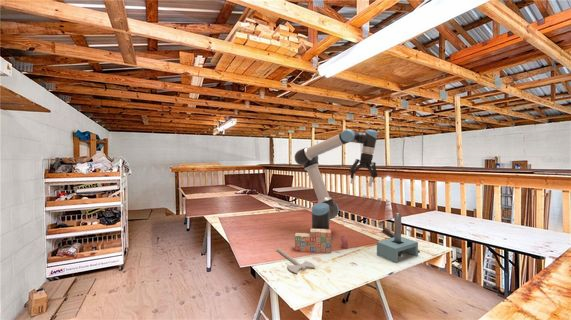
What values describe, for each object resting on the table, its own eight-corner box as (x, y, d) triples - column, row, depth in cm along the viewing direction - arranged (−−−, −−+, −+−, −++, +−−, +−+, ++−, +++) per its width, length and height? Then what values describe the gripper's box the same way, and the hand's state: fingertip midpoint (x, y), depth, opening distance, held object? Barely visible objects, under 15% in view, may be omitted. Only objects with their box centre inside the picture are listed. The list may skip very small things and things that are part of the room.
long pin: (396, 256, 135) (396, 214, 135) (392, 253, 139) (393, 212, 139) (402, 256, 136) (402, 213, 135) (398, 253, 139) (399, 212, 139)
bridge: (395, 262, 127) (395, 248, 127) (376, 254, 138) (376, 241, 137) (417, 255, 137) (418, 242, 137) (398, 248, 148) (398, 235, 147)
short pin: (342, 248, 147) (342, 238, 147) (340, 246, 150) (340, 236, 150) (348, 248, 147) (348, 237, 147) (346, 246, 151) (346, 236, 150)
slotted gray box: (419, 258, 141) (420, 250, 141) (416, 258, 141) (416, 250, 141) (383, 231, 180) (384, 225, 180) (380, 232, 180) (381, 225, 180)
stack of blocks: (294, 251, 143) (294, 230, 143) (295, 247, 149) (295, 227, 149) (331, 253, 140) (331, 232, 140) (330, 249, 146) (330, 229, 146)
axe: (267, 253, 140) (267, 249, 140) (288, 249, 147) (288, 245, 147) (294, 276, 114) (294, 271, 114) (317, 269, 121) (317, 264, 121)
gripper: (353, 150, 152) (346, 183, 153) (387, 157, 158) (380, 188, 159) (347, 149, 159) (341, 181, 160) (380, 156, 165) (373, 186, 166)
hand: (360, 185), depth 160 cm, fingers open, 13 cm apart
